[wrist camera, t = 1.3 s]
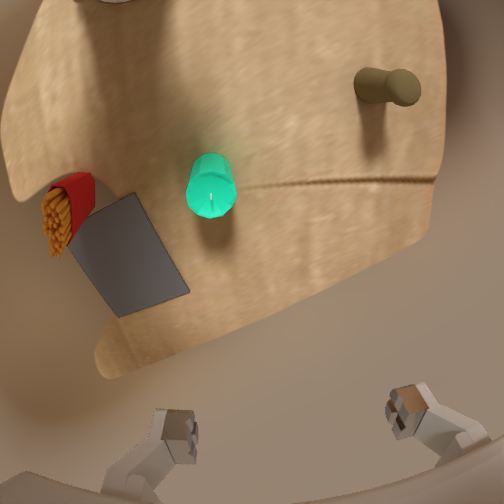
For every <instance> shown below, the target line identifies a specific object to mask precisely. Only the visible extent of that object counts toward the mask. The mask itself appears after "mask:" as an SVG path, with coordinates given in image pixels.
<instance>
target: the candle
mask: <svg viewBox="0 0 504 504" xmlns="http://www.w3.org/2000/svg"><path fill="white" fill-rule="evenodd" d="M236 197H237V195H236V190H235V184H234V180H233V176H232V172H231V167H230V163H229V162H228V161H227V160H226V159H225V158H224V157H223V156H222V155H219V154H216V153H208V154H203V155H201V156H200V157H199V158H198V159H197V160H195V161H194V164H193V167H192V170H191V173H190V177H189V182H188V186H187V190H186V198H187V202H188V206H189V208H191V209H192V210H193V211H194V212H195V213H196V214H197V215H199V216H203V217H206V218H209V219H211V218H215V217H220V216H223V215H224V214H225V213H226V212H227V211H228V210H229V209H230V208H231V207H232V206H233V204H234V201H235V199H236Z"/></svg>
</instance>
